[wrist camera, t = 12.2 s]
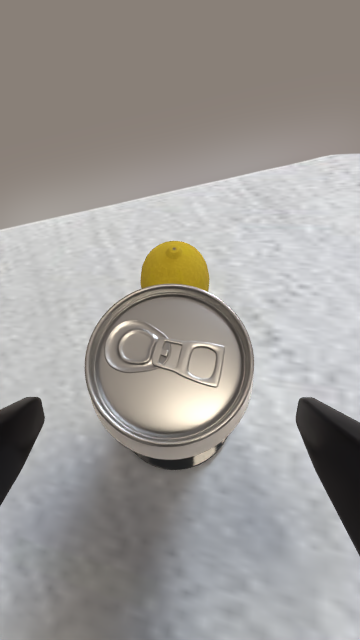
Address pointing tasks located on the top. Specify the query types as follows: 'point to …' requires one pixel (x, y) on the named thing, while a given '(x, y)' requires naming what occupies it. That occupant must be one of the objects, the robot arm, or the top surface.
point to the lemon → (175, 266)
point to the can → (170, 371)
